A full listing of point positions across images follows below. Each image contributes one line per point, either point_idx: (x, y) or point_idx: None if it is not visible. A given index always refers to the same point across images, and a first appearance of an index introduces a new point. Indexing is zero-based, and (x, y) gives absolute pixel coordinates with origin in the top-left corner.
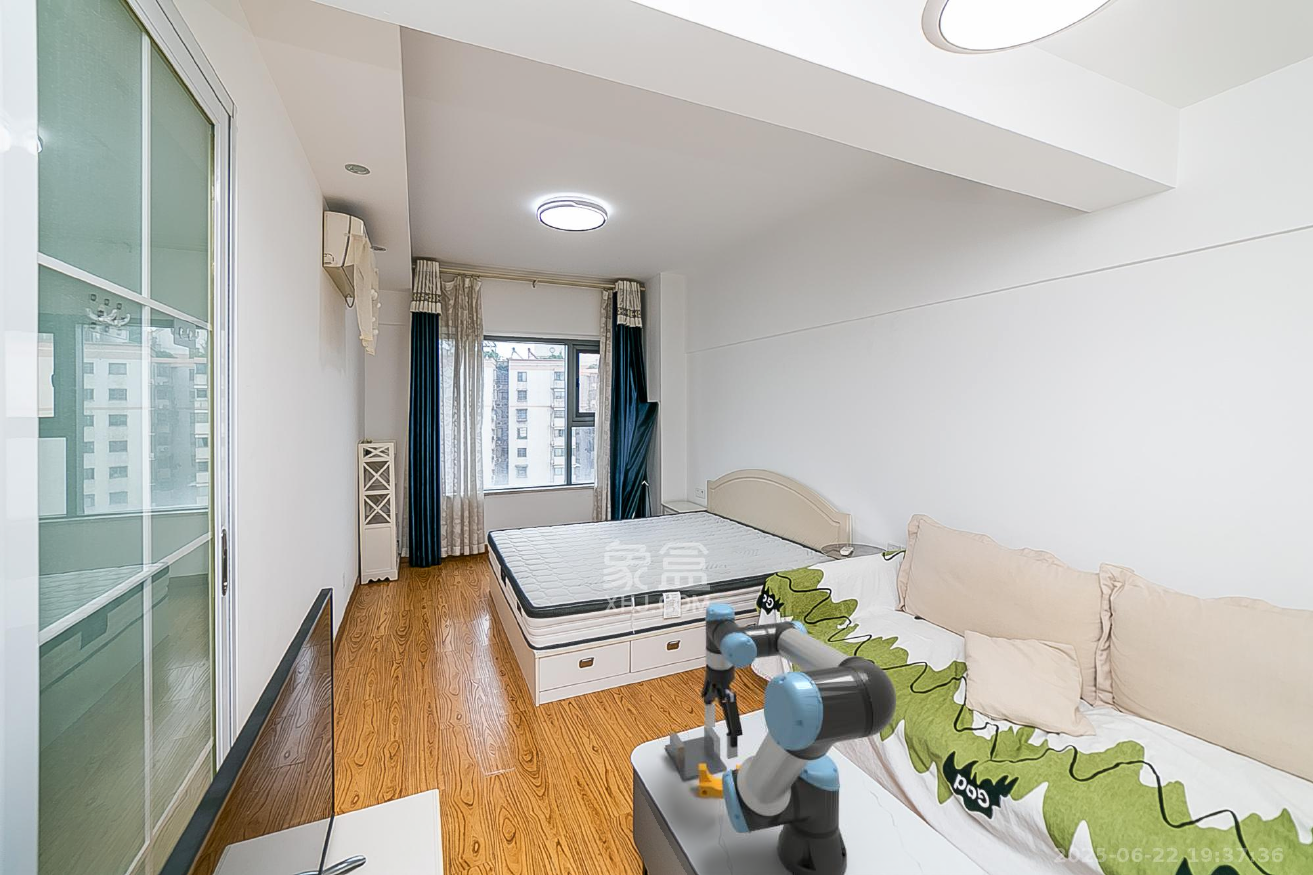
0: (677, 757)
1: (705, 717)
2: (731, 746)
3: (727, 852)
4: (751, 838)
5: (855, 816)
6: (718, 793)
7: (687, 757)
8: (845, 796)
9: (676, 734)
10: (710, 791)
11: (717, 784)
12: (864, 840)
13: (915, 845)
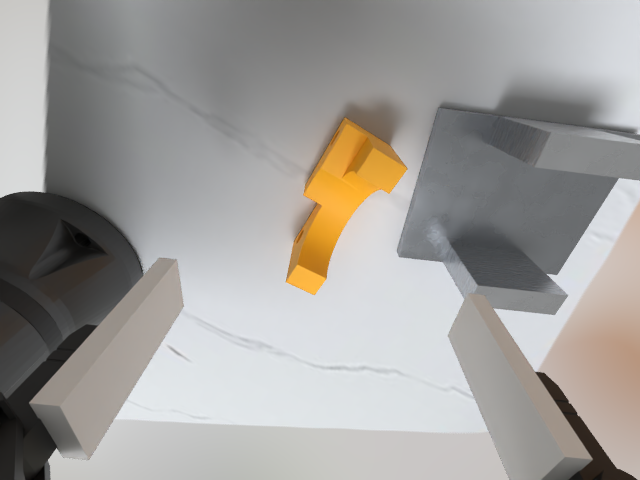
0: (530, 124)
1: (510, 348)
2: (93, 328)
3: (95, 72)
4: (138, 169)
5: (158, 373)
6: (311, 177)
7: (521, 177)
8: (210, 387)
9: (634, 175)
10: (325, 156)
11: (332, 191)
12: None
13: None
